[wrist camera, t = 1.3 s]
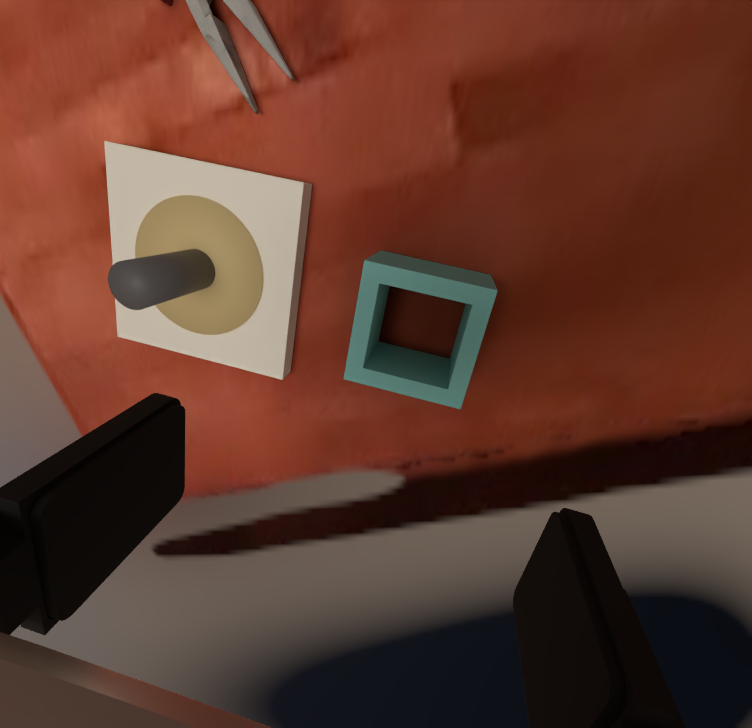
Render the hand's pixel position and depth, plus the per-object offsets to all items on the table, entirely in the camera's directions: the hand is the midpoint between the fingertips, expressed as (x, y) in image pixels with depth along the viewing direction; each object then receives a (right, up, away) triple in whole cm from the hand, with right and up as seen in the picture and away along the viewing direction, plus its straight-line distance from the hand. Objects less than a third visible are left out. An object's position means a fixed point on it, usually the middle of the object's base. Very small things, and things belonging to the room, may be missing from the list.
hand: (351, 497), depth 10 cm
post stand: (-11, +10, +18) cm, 24 cm away
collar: (+4, +6, +17) cm, 18 cm away
